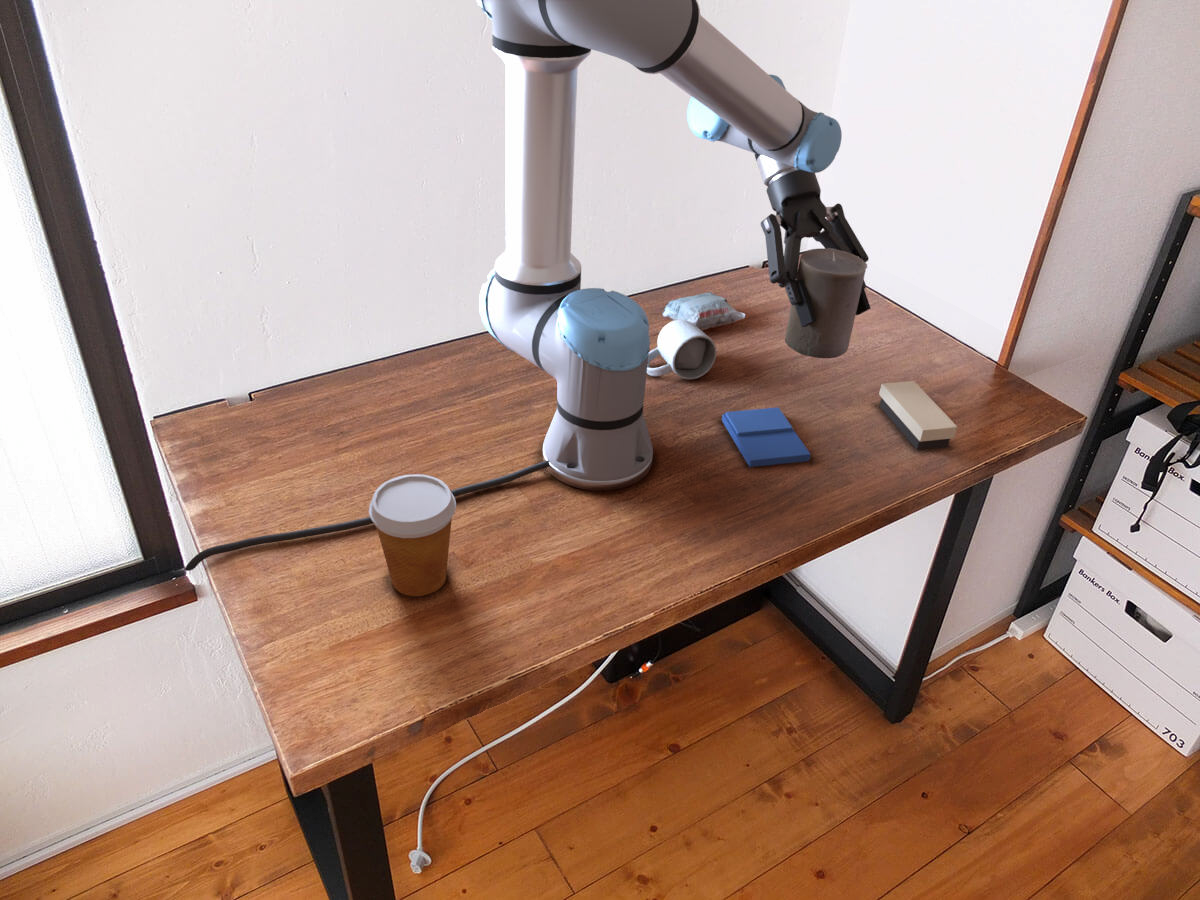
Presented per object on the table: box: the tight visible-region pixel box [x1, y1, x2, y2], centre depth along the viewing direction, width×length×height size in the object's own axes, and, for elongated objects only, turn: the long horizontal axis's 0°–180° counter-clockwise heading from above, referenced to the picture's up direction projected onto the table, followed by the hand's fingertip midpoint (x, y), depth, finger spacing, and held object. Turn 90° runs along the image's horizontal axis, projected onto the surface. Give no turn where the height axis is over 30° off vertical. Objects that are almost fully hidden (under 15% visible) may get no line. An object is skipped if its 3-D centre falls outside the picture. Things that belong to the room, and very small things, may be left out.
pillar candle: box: [784, 247, 868, 359], centre depth 143 cm, size 10×10×15 cm
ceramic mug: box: [647, 319, 717, 380], centre depth 152 cm, size 11×8×8 cm
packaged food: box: [662, 291, 746, 331], centre depth 166 cm, size 9×12×5 cm
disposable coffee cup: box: [368, 473, 457, 597], centre depth 108 cm, size 10×10×12 cm
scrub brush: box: [878, 380, 958, 451], centre depth 142 cm, size 6×13×4 cm, turn 13°
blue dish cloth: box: [721, 406, 812, 468], centre depth 138 cm, size 9×12×2 cm
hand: (836, 317), depth 141 cm, fingers closed on pillar candle, 9 cm apart
